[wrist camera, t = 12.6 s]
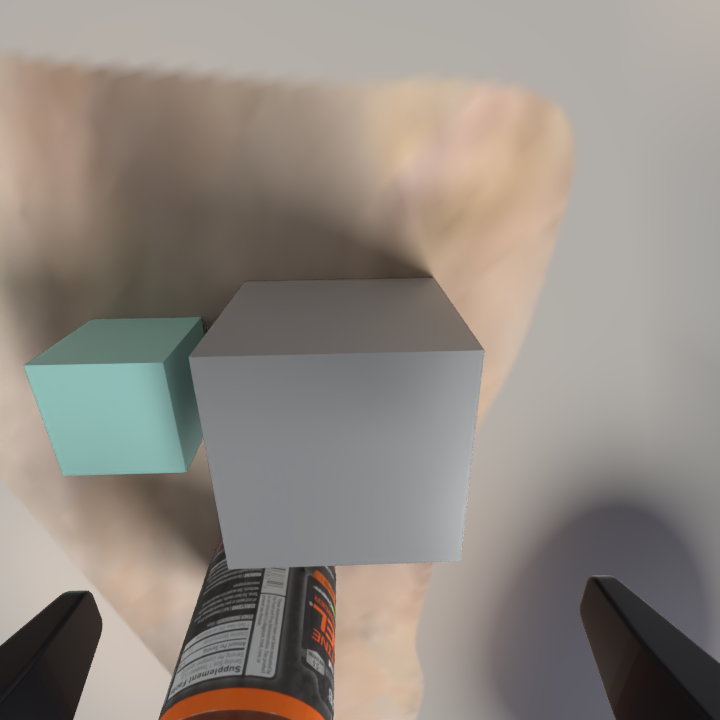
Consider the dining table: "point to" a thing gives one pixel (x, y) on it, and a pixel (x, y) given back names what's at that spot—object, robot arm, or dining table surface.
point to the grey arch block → (339, 422)
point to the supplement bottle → (257, 646)
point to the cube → (121, 396)
